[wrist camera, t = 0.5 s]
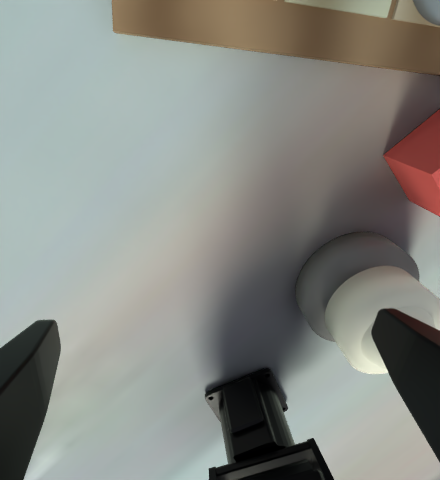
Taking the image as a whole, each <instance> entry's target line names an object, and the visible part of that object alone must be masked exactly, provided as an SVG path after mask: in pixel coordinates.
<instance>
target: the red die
mask: <svg viewBox="0 0 440 480" xmlns="http://www.w3.org/2000/svg"><path fill="white" fill-rule="evenodd" d="M383 156H384V158H385V160H386V161H387V163H388V165H389V167H390V168H391V170H392V172H393V173H394V175H395V177H396V179H397V180H398V182H399V184H400V185H401V187H402V189H403V191H404V192H405V194H406V196H407V197H408V199H409V201H411V202H413V203H415V204H417V205H419V206H421V207H423V208H424V209H426V210H428V211H430V212H432V213H434V214H436V215H438V216H439V217H440V109H439V110H438V111H437V112H435V113H434V114H433V115H432V116H431V117H429V118H428V119H427V120H426V121H424V122H423V123H422V124H421V125H420V126H418V127H417V128H416V129H415V130H413V131H412V132H411V133H410V134H409V135H407V136H406V137H405V138H404V139H402V140H401V141H400V142H399V143H398V144H396V145H395V146H394V147H393V148H391V149H390V150H389V151H388V152H386V153H385V154H384V155H383Z"/></svg>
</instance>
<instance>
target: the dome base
mask: <svg viewBox="0 0 440 480" xmlns="http://www.w3.org/2000/svg"><path fill="white" fill-rule="evenodd" d="M377 266H395V267H398V268H401V269H403V270H405V271H406V272H408V273H409V274H410V275H411V276H413V277H414V278H415V279H416V280H417V281H419V271H418V267H417V265H416V263H415V261H414V260H413V258H412V257H411V256H410V255H409V254H407V253H406V252H405V251H403V250H402V249H401V248H399V247H398V246H397V245H395V244H394V243H393V242H391V241H390V240H389V239H387V238H386V237H384V236H382V235H380V234H376V233H371V232H356V233H350V234H346V235H343V236H340V237H338V238H336V239H334V240H332V241H330V242H328V243H327V244H325V245H324V246H322V247H321V248H320V249H318V250H317V251H316V252H315V253H314V254H313V255H312V256H311V257H310V258H309V259H308V261H307V262H306V263H305V265H304V266H303V268H302V270H301V272H300V274H299V276H298V279H297V283H296V290H295V293H296V300H297V304H298V306H299V308H300V310H301V311H302V313H303V315H304V316H305V318H306V320H307V322H308V323H309V325H310V327H311V328H312V330H313V331H314V332H315V333H316V334H317V335H319V336H320V337H322V338H324V339H326V340H329V341H333V342H335V340H334V338H333V337H332V335H331V334H330V332H329V331H328V329H327V327H326V324H325V311H326V307H327V305H328V302H329V300H330V298H331V297H332V295H333V294H334V293H335V291H336V290H337V289H338V288H339V287H340V286H341V285H342V284H343V283H344V282H345V281H346V280H348V279H349V278H351V277H352V276H354V275H355V274H357V273H359V272H361V271H364V270H366V269H369V268H373V267H377Z"/></svg>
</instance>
